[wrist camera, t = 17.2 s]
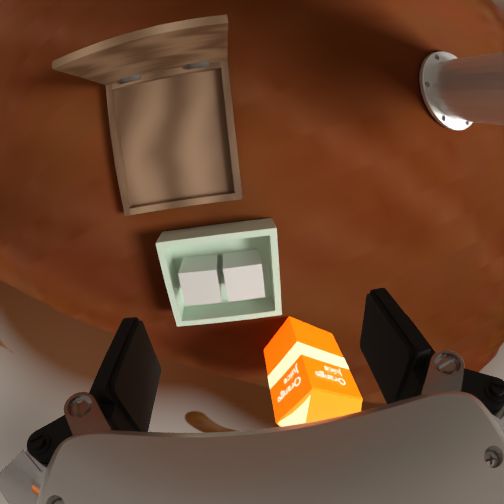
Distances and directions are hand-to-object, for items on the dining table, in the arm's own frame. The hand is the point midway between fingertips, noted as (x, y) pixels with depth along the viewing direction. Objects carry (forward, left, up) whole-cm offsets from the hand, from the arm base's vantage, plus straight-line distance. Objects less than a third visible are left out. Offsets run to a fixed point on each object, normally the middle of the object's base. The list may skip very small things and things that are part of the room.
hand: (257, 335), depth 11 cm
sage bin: (+3, +9, -26) cm, 28 cm away
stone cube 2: (+6, +9, -25) cm, 28 cm away
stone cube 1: (0, +9, -25) cm, 27 cm away
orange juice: (-7, +24, -26) cm, 36 cm away
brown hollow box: (+7, -8, -26) cm, 28 cm away
